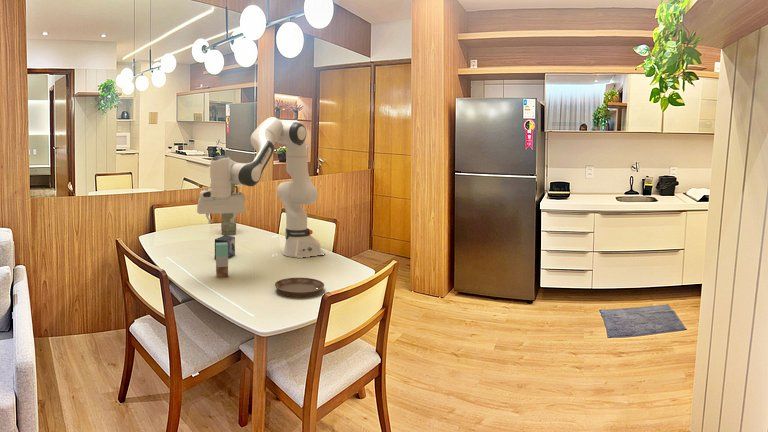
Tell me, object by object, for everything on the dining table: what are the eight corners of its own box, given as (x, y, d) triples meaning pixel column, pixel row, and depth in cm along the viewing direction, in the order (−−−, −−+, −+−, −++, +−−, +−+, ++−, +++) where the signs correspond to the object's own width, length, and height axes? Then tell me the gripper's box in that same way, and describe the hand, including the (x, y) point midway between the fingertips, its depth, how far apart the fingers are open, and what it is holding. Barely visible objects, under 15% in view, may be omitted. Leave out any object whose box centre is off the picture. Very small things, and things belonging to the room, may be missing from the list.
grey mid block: (227, 263, 237) (227, 253, 236) (228, 266, 232) (227, 255, 231) (216, 264, 235) (215, 253, 234) (216, 267, 231) (216, 256, 230)
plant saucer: (326, 284, 228) (326, 277, 228) (321, 300, 208) (322, 292, 207) (279, 283, 228) (279, 276, 227) (270, 298, 207) (270, 290, 207)
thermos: (216, 233, 322) (215, 177, 316) (234, 232, 329) (234, 177, 324) (222, 236, 315) (221, 179, 309) (240, 234, 323) (240, 178, 317)
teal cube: (227, 253, 236) (227, 242, 235) (228, 255, 231) (227, 244, 231) (215, 253, 234) (215, 242, 233) (216, 256, 230) (216, 245, 229)
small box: (225, 260, 261) (225, 240, 260) (214, 259, 263) (213, 239, 261) (235, 255, 272) (235, 236, 270) (224, 254, 273) (224, 235, 271)
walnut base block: (227, 274, 238) (227, 263, 237) (228, 277, 233) (228, 266, 232) (216, 274, 236) (216, 264, 235) (216, 277, 231) (216, 267, 231)
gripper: (244, 191, 234) (244, 221, 237) (196, 191, 228) (197, 222, 230) (245, 193, 229) (246, 223, 231) (196, 193, 222) (197, 225, 224)
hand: (221, 223), depth 230 cm, fingers open, 8 cm apart
